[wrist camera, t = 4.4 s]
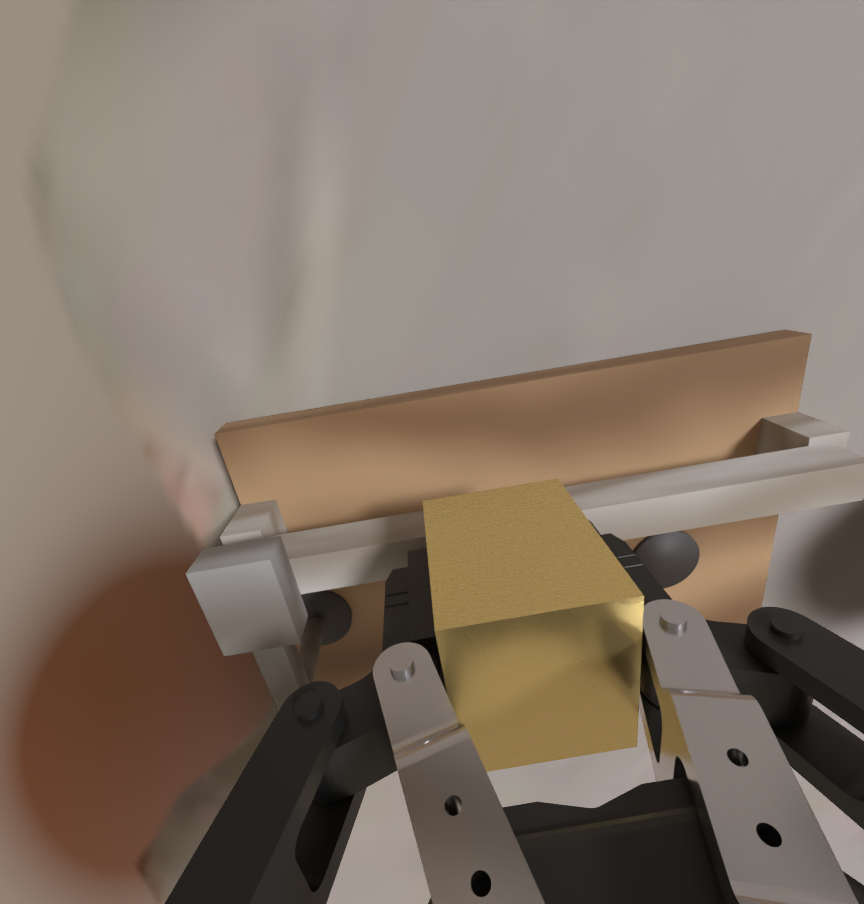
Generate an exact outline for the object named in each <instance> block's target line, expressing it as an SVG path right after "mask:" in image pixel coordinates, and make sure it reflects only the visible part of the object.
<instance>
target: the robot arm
mask: <svg viewBox="0 0 864 904" xmlns="http://www.w3.org/2000/svg"><path fill="white" fill-rule="evenodd" d="M589 522H590V523H591V524H592V526H593V527H594V528H595V530H596V531H597V533H598V534H599V535H600V537H601V538H602V539H603V541H604V542H605V543H606V545H607V546H608V547H609V549H610V550H611V552H612V553H613V554H614V556H615V557H616V558H617V560H618V561H619V562H620V564H621V565H622V567H623V568H624V569H625V571H626V572H627V573H628V575H629V576H630V577H631V579H632V580H633V581H634V583H635V584H636V586H637V587H638V588H639V590H640V591H641V592H642V594H643V595H644V610H643V630H642V651H641V672H640V693H639V709H640V713H641V717H642V721H643V726H644V730H645V734H646V738H647V743H648V747H649V751H650V755H651V760H652V764H653V768H654V773H655V779H656V782H651V783H646V784H641V785H639V786H637V787H635V788H633V789H632V790H630V791H628V792H626V793H624V794H622V795H620V796H618V797H617V798H615V799H613V800H611V801H609V802H607V803H605V804H604V805H602V806H600V807H597V808H583V807H575V806H567V805H559V804H551V803H543V802H533V803H527V804H521V805H515V806H509V807H503V808H502V806H501V804H500V801H499V799H498V797H497V795H496V793H495V790H494V788H493V786H492V784H491V781H490V779H489V777H488V775H487V772H486V770H485V768H484V766H483V763H482V761H481V759H480V757H479V754H478V752H477V750H476V748H475V745H474V743H473V741H472V739H471V737H470V734H469V732H468V730H467V728H466V727H465V725H464V724H463V723H462V724H460V722H459V721H458V718H457V716H456V714H455V712H454V709H453V707H452V705H451V702H450V700H449V698H448V695H447V690H446V685H445V680H444V675H443V670H442V665H441V660H440V655H439V650H438V645H437V640H436V635H435V628H434V618H433V607H432V596H431V586H430V575H429V565H428V554H427V547H421V548H415V549H409V550H408V567H404V568H398V569H393V570H392V572H391V573H390V575H389V577H388V578H387V580H386V582H385V601H384V608H385V609H384V623H383V645H382V653H381V655H380V656H379V657H378V658H377V660H376V662H375V664H374V667H373V670H372V671H371V672H370V673H369V674H368V675H367V676H365V677H364V678H362V679H361V680H359V681H357V682H355V683H353V684H351V685H349V686H347V687H344V688H342V689H340V690H338V689H337V687H336V686H335V685H333V684H331V683H329V682H325V681H316V682H311V683H308V684H306V685H303V686H302V687H300V688H298V689H297V690H295V691H294V692H293V693H292V694H291V695H290V696H289V697H288V698H287V699H286V700H285V702H284V703H283V705H282V706H281V708H280V710H279V711H278V713H277V715H276V716H275V718H274V720H273V722H272V723H271V725H270V727H269V728H268V730H267V732H266V733H265V735H264V737H263V738H262V740H261V742H260V743H259V745H258V747H257V749H256V750H255V752H254V754H253V755H252V757H251V759H250V760H249V762H248V764H247V765H246V767H245V769H244V770H243V772H242V774H241V776H240V777H239V779H238V781H237V782H236V784H235V786H234V787H233V789H232V791H231V792H230V794H229V796H228V798H227V799H226V801H225V803H224V804H223V806H222V808H221V809H220V811H219V813H218V814H217V816H216V818H215V819H214V821H213V823H212V825H211V826H210V828H209V830H208V831H207V833H206V835H205V836H204V838H203V840H202V841H201V843H200V845H199V846H198V848H197V850H196V852H195V853H194V855H193V857H192V858H191V860H190V862H189V863H188V865H187V867H186V868H185V870H184V872H183V873H182V875H181V877H180V879H179V880H178V882H177V884H176V885H175V887H174V889H173V890H172V892H171V894H170V895H169V897H168V899H167V901H166V902H165V904H326V903H327V900H328V897H329V894H330V891H331V888H332V886H333V883H334V880H335V877H336V874H337V871H338V868H339V866H340V863H341V860H342V857H343V854H344V851H345V848H346V845H347V843H348V840H349V837H350V834H351V831H352V828H353V825H354V823H355V820H356V817H357V814H358V811H359V808H360V805H361V803H362V800H363V797H364V794H365V791H366V787H368V786H370V785H372V784H373V783H375V782H377V781H379V780H381V779H382V778H384V777H386V776H388V775H390V774H391V773H393V772H395V771H397V770H398V774H399V778H400V782H401V785H402V789H403V793H404V797H405V800H406V804H407V808H408V812H409V816H410V819H411V823H412V827H413V831H414V835H415V838H416V842H417V846H418V850H419V853H420V857H421V861H422V865H423V869H424V872H425V876H426V880H427V884H428V888H429V891H430V895H431V898H430V900H429V903H428V904H864V885H862V884H861V883H859V882H858V881H856V880H855V879H854V878H852V877H851V876H849V875H848V874H846V873H845V872H844V871H842V869H841V867H840V865H839V863H838V861H837V859H836V857H835V855H834V853H833V851H832V849H831V847H830V845H829V843H828V841H827V839H826V837H825V835H824V833H823V831H822V829H821V827H820V825H819V823H818V821H817V819H816V817H815V815H814V813H813V811H812V809H811V807H810V805H809V803H808V801H807V799H806V797H805V795H804V793H803V791H802V789H801V787H800V785H799V783H798V781H797V779H796V777H795V775H794V773H793V771H792V769H791V767H792V768H793V769H794V770H795V771H797V772H798V773H799V774H800V775H801V776H802V777H803V778H805V779H806V780H807V781H808V782H809V783H810V784H812V785H813V786H814V787H815V788H816V789H817V790H819V791H820V792H821V793H822V794H823V795H824V796H825V797H827V798H828V799H829V800H830V801H831V802H832V803H834V804H835V805H836V806H837V807H838V808H839V809H841V810H842V811H843V812H844V813H845V814H846V815H847V816H849V817H850V818H851V819H852V820H853V821H854V822H856V823H857V824H858V825H859V826H860V827H861V828H862V829H864V741H863V740H861V739H860V738H858V737H857V736H856V735H854V734H853V733H851V732H850V731H849V730H847V729H846V728H845V727H843V726H842V725H840V724H839V723H838V722H836V721H835V720H834V719H832V718H831V717H829V716H828V715H827V714H825V713H824V712H822V711H821V710H820V709H818V708H817V707H816V706H814V705H813V704H812V702H813V699H815V700H817V701H818V702H819V703H821V704H822V705H824V706H825V707H826V708H828V709H829V710H831V711H832V712H833V713H835V714H836V715H838V716H839V717H840V718H842V719H843V720H845V721H846V722H847V723H849V724H850V725H852V726H853V727H855V728H856V729H857V730H859V731H860V732H862V733H863V734H864V650H862V649H860V648H859V647H857V646H855V645H853V644H852V643H850V642H848V641H847V640H845V639H843V638H841V637H840V636H838V635H836V634H834V633H833V632H831V631H829V630H827V629H826V628H824V627H822V626H821V625H819V624H817V623H815V622H814V621H812V620H810V619H808V618H807V617H805V616H803V615H801V614H798V613H796V612H793V611H790V610H787V609H783V608H777V607H762V608H758V609H756V610H753V611H752V612H751V613H750V614H749V615H748V618H747V623H746V624H741V623H729V622H718V621H711V620H706V619H705V618H704V617H703V616H702V615H701V614H700V613H699V612H698V611H697V610H696V609H694V608H693V607H691V606H689V605H687V604H685V603H682V602H679V601H675V600H672V599H671V597H670V596H669V595H668V594H667V592H666V591H665V590H664V589H663V587H662V586H661V585H660V584H659V583H658V581H657V580H656V579H655V578H654V576H653V575H652V574H651V573H650V571H649V570H648V569H647V568H646V567H645V566H643V563H642V562H641V560H640V559H639V558H638V557H637V556H635V553H634V552H633V551H632V549H631V548H630V547H629V546H628V544H627V543H626V542H625V541H623V540H621V539H620V538H618V537H616V536H614V535H613V534H611V533H609V534H603V535H601V534H600V533H599V531H598V530H597V529H596V527H595V526H594V525H593V523H592V522H591V521H590V520H589ZM790 766H791V767H790Z"/></svg>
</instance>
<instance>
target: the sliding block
mask: <svg viewBox="0 0 864 904" xmlns="http://www.w3.org/2000/svg"><path fill="white" fill-rule="evenodd" d="M423 511H424V522H425V533H426V543H427V554H428V565H429V575H430V586H431V596H432V607H433V618H434V628H435V635H436V640H437V645H438V650H439V655H440V660H441V665H442V670H443V675H444V680H445V685H446V690H447V695H448V698H449V700H450V702H451V705H452V707H453V709H454V712H455V714H456V716H457V718H458V721H459V722H460V724H462V723H463V724H464V725H465V727H466V728H467V730H468V732H469V734H470V737H471V739H472V741H473V743H474V745H475V748H476V750H477V752H478V754H479V757H480V759H481V761H482V763H483V766H484V768H485V770H486V772H488V771H494V770H500V769H506V768H512V767H518V766H524V765H530V764H535V763H541V762H547V761H553V760H559V759H565V758H571V757H577V756H583V755H589V754H595V753H601V752H607V751H613V750H619V749H625V748H631V747H637V735H638V714H639V693H640V672H641V651H642V630H643V610H644V595H643V594H642V592H641V591H640V590H639V588H638V587H637V586H636V584H635V583H634V581H633V580H632V579H631V577H630V576H629V575H628V573H627V572H626V571H625V569H624V568H623V567H622V565H621V564H620V562H619V561H618V560H617V558H616V557H615V556H614V554H613V553H612V552H611V550H610V549H609V547H608V546H607V545H606V543H605V542H604V541H603V539H602V538H601V537H600V535H599V534H598V533H597V531H596V530H595V528H594V527H593V526H592V524H591V523H590V522H589V520H588V519H587V518H586V516H585V515H584V514H583V512H582V511H581V509H580V508H579V507H578V505H577V504H576V503H575V501H574V500H573V499H572V497H571V496H570V494H569V493H568V492H567V490H566V489H565V488H564V486H563V485H562V484H561V482H560V481H559V480H558V478H556V479H550V480H544V481H538V482H533V483H527V484H521V485H515V486H509V487H503V488H497V489H491V490H485V491H479V492H473V493H467V494H461V495H455V496H449V497H443V498H437V499H431V500H425V501H423Z"/></svg>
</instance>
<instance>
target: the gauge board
mask: <svg viewBox="0 0 864 904" xmlns="http://www.w3.org/2000/svg"><path fill="white" fill-rule="evenodd" d="M811 335H812V334H808V333H802V332H796V331H791V330H780V331H774V332H768V333H762V334H756V335H750V336H744V337H738V338H732V339H726V340H720V341H714V342H708V343H702V344H696V345H690V346H685V347H679V348H673V349H667V350H661V351H655V352H649V353H643V354H637V355H631V356H625V357H619V358H613V359H607V360H601V361H595V362H589V363H583V364H577V365H571V366H565V367H559V368H553V369H547V370H541V371H535V372H529V373H523V374H517V375H511V376H505V377H499V378H493V379H487V380H481V381H475V382H469V383H463V384H457V385H452V386H446V387H440V388H434V389H428V390H422V391H416V392H410V393H404V394H398V395H392V396H386V397H380V398H374V399H368V400H362V401H356V402H350V403H344V404H338V405H332V406H326V407H320V408H314V409H308V410H302V411H296V412H290V413H284V414H278V415H272V416H266V417H260V418H254V419H248V420H242V421H236V422H230V423H226V424H225V425H224V426H223V427H222V428H220V429H219V430H218V431H217V432H216V433H215V434H214V435H215V437H216V440H217V443H218V445H219V448H220V451H221V453H222V456H223V459H224V461H225V464H226V467H227V469H228V472H229V475H230V477H231V480H232V483H233V485H234V488H235V491H236V493H237V496H238V499H239V501H240V504H241V506H240V507H239V509H238V510H237V512H236V513H235V515H234V516H233V518H232V519H231V521H230V522H229V524H228V525H227V527H226V528H225V530H224V531H223V533H222V534H221V536H220V539H221V541H222V544H223V545H222V546H216V547H210V548H204V549H203V550H202V551H201V552H200V554H199V555H198V557H197V558H196V560H195V561H194V563H193V564H192V566H191V567H190V568H189V570H188V571H187V573H186V575H187V578H188V580H189V582H190V584H191V586H192V588H193V591H194V593H195V595H196V597H197V599H198V601H199V604H200V606H201V608H202V610H203V612H204V614H205V616H206V619H207V621H208V623H209V625H210V627H211V629H212V631H213V633H214V636H215V638H216V640H217V642H218V644H219V647H220V649H221V651H222V653H223V655H224V656H229V655H235V654H241V653H247V652H253V654H254V657H255V659H256V662H257V664H258V666H259V669H260V671H261V673H262V676H263V678H264V680H265V683H266V685H267V687H268V690H269V692H270V694H271V697H272V699H273V701H274V704H275V706H276V708H277V711H279V710H280V708H281V706H282V705H283V703H284V702H285V700H286V699H287V698H288V697H289V696H290V695H291V694H292V693H293V692H294V691H295V690H297V689H298V688H300V687H302V686H303V685H306V684H308V683H311V682H316V681H325V682H329V683H331V684H333V685H335V686H336V687H337V689H338V690H340V689H342V688H344V687H347V686H349V685H351V684H353V683H355V682H357V681H359V680H361V679H362V678H364V677H365V676H367V675H368V674H369V673H370V672H371V671H372V670H373V667H374V664H375V662H376V660H377V658H378V657H379V656H380V655H381V653H382V645H383V623H384V609H385V608H384V601H385V582H386V580H387V578H388V577H389V575H390V573H391V572H392V570H393V569H398V568H404V567H408V550H409V549H415V548H421V547H427V543H426V533H425V522H424V511H423V501H425V500H431V499H437V498H443V497H449V496H455V495H461V494H467V493H473V492H479V491H485V490H491V489H497V488H503V487H509V486H515V485H521V484H527V483H533V482H538V481H544V480H550V479H556V478H558V480H559V481H560V482H561V484H562V485H563V486H564V488H565V489H566V490H567V492H568V493H569V494H570V496H571V497H572V499H573V500H574V501H575V503H576V504H577V505H578V507H579V508H580V509H581V511H582V512H583V514H584V515H585V516H586V518H587V519H588V520H590V521H591V522H592V523H593V525H594V526H595V527H596V529H597V530H598V531H599V533H600V534H601V535H603V534H609V533H611V534H613V535H614V536H616V537H618V538H620V539H621V540H623V541H625V542H626V543H627V544H628V546H629V547H630V548H631V549H632V551H633V552H634V553H635V556H637V557H638V558H639V559H640V560H641V562H642V563H643V566H645V567H646V568H647V569H648V570H649V571H650V573H651V574H652V575H653V576H654V578H655V579H656V580H657V581H658V583H659V584H660V585H661V586H662V587H663V589H664V590H665V591H666V592H667V594H668V595H669V596H670V597H671V599H672V600H675V601H679V602H682V603H685V604H687V605H689V606H691V607H693V608H694V609H696V610H697V611H698V612H699V613H700V614H701V615H702V616H703V617H704V618H705V619H706V620H711V621H718V622H729V623H741V624H746V623H747V618H748V615H749V614H750V613H751V612H752V611H753V610H756V609H758V608H761V607H762V601H763V596H764V590H765V585H766V580H767V574H768V569H769V563H770V558H771V552H772V547H773V542H774V536H775V531H776V525H777V520H778V514H783V513H789V512H795V511H801V510H807V509H813V508H819V507H825V506H831V505H837V504H843V503H849V502H855V501H861V500H863V499H864V457H861V456H859V455H857V454H854V453H852V452H849V451H847V450H846V446H847V442H848V438H849V433H850V431H848V430H845V429H842V428H840V427H837V426H834V425H831V424H829V423H826V422H823V421H821V420H818V419H815V418H813V417H810V416H807V415H804V414H802V413H799V412H797V411H798V406H799V400H800V395H801V390H802V384H803V379H804V373H805V368H806V362H807V357H808V352H809V346H810V341H811Z"/></svg>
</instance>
